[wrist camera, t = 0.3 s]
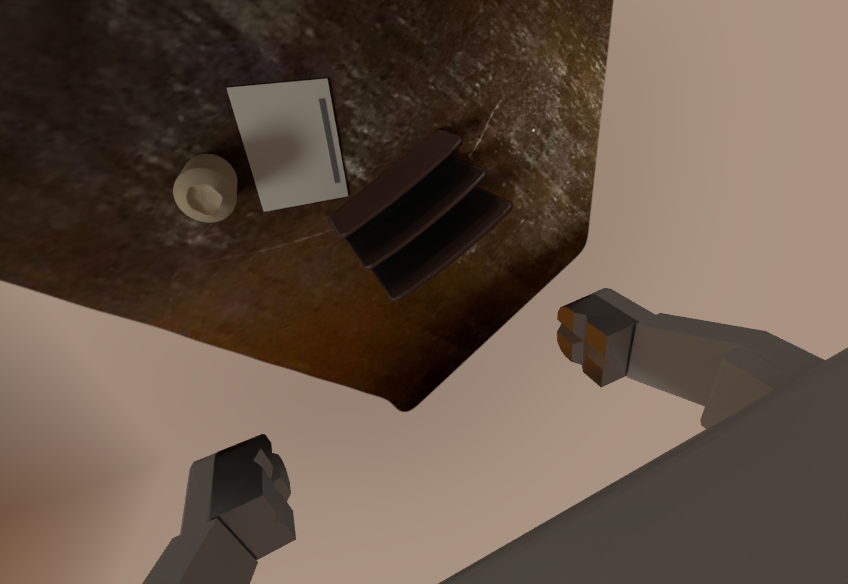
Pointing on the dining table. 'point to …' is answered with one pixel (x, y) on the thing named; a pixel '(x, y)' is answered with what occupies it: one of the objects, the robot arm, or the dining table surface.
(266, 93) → the white rectangular plate
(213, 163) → the candle
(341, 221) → the letter holder
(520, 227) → the dining table surface
